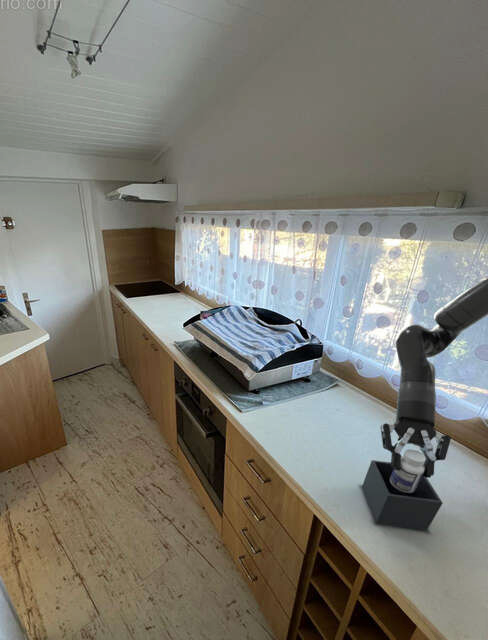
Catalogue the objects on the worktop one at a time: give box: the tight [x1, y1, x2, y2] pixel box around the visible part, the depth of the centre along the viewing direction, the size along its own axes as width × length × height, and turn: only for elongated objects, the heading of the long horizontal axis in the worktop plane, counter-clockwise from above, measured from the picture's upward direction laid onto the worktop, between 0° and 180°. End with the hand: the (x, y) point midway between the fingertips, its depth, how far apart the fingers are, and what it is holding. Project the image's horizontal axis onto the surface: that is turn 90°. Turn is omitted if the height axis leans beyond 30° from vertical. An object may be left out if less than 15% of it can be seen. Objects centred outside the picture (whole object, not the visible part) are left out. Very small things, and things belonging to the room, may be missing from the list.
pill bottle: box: [390, 448, 426, 493], centre depth 72 cm, size 5×5×10 cm
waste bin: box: [361, 459, 443, 532], centre depth 76 cm, size 11×11×10 cm
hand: (411, 473), depth 71 cm, fingers closed on pill bottle, 5 cm apart
